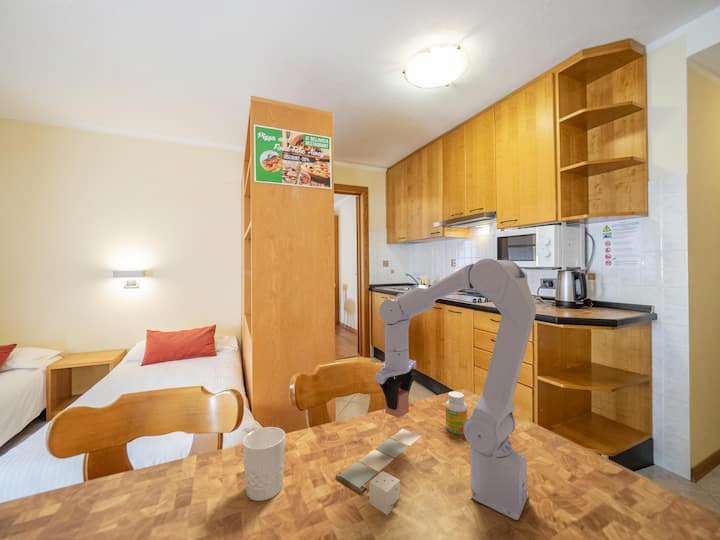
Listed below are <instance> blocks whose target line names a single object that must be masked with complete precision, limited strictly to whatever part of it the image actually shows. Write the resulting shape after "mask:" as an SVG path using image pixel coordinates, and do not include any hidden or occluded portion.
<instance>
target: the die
mask: <svg viewBox="0 0 720 540" xmlns="http://www.w3.org/2000/svg"><path fill="white" fill-rule="evenodd" d="M368 485H369V490H368V491H369V504H370V505H371V506H373V508H374V507H375V508H376V509H377V510H379V512H382V513H384V514H385V515H386V516H388V515H389V514H390V513H391V512H392V511H393V510H394V509H395V508H396V507H397V506H396V505H394V504H396V502H397V501H398V500H399V499H400V498H401V479H399V478H397V477H395V476H393V475H392V474H390V473H387V472H385V471H384V470H381V471H379V472H378V473H377V474H376V475H375V476H373V477H372V478H371V479H370V480H369V484H368Z"/></svg>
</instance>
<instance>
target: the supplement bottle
mask: <svg viewBox="0 0 720 540" xmlns="http://www.w3.org/2000/svg"><path fill="white" fill-rule="evenodd" d="M447 395H448V400H447V401H446V403H445V428H446V430H447V431H448V432H450V433H452V434H456V435H464V424H465V422H466V420H467V419H468V405H467V403H466V402H465V394H463V393H462V392H459V391H449V392H448V394H447Z"/></svg>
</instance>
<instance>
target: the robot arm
mask: <svg viewBox="0 0 720 540" xmlns="http://www.w3.org/2000/svg"><path fill="white" fill-rule="evenodd" d="M464 289H467V290H475V291H477V292H478V293H479V294H481V295H482V296H483V297H485V299H487V300H489V301H490V302H491V303H492V304H493V305H494V306H495V308H496V309H497V311H499V313H500V314H501V317H500V321H499V325H498V328H497V332H496V336H495V341H494V344H493V349H492V353H491V358H490V360H489V365H488V369H487V373H486V377H485V382H484V385H483V389H482V392H481V396H480V397H479V399H478V401H477V402H476V404H475V406H474V407H473V410H472V415H470V417H469V418H467V420H466V422H465V424H464V434H463V435H464V437H465V439H466V441H467V444H469V450H470V451H469V452H470V453H469V455H470V457H469V458H470V465H469V466H470V488H471V490H472V492H473V494H472V496H471V499H472V500H473V501H476V502H478V503H480V504H482V505H484V506H486V507H488V508H489V509H490V508H491V509H492V510H495V511H496V512H498V513H501V514H503V515H504V516H506V517H509V518H511V519H512V520H515V521H519V519H520V516H521V514H522V512H523V510H524V507H525V504H526V502H527V500H528V497H529V492H528V462H527V458H526V456H525V455H522V454H520V453H519V452H517V451H516V450H514V449H513V447H512V442H511V440H510V435H512V434H513V433H514V431H515V430H516V429H515V428H516V419H515V413H514V412H515V407H516V404H515V402H514V396H515V393H516V389H517V386H518V385H517V384H518V381H519V378H520V374H521V370H522V367H523V363H524V359H525V356H526V351H527V348H528V345H529V341H530V338H531V334H532V331H533V330H532V329H533V326H534V322H535V319H536V316H537V315H536V314H537V306H536V303H535V299H534V298H533V294H532V292H531V289H530V287H529V283H528V275H527V274H526V272H524V271H523V269H522V268H521V267H520V266H519V265H518V264H517V263H516V262H514V261H512V260H510V259H494V258H483V259H479V260H478V261H477V262H475V263H469V264H467V265H465V266H463V267H461V268H460V269H458V270H456V271H455V272H453V273H450V274H449V275H447V276H446V277H443V278H442V279H441V280H438V281H437V282H435V283H433V284H431V285H430V286H426V285H423V284H420V285H419V284H414V285H412V286H411V287H410V289H409V290H408V291H406V292H405V293H398V294H396V297H395V298H394V299H392V298H386V299H384V301H383V302H381V304H380V306H379V310H378V312H379V317H380V318H381V321H382V322H383V323H384V363H382V364H381V369H380V370H379V371H377V373H375V374H374V383H376V384H379V386H380V387H381V390H382V392H383V395H384V398H385V399H386V402H387V406H388V408H390V409H393V410H396V408H397V400H398V392H399V388H400V389H402V390H406V391H408V397H409V396H410V393H411V392H410V391H411V388H412V385H413V382H414V380H415V378H416V375H417V373H416V372H414V371H411V370H416V369H417V360H412V359H410V353H409V352H410V351H409V347H410V346H409V327H410V321H411V319H412V318H413V317H416V316H418V315H420V314H422V313H425V312H427V311H429V310H432V309H433V308H434V306H435V304H436V301H437V300H440V299H442V298H445V297H447V296H449V295H451V294H454V293H456V292H459V291H462V290H464ZM385 399H384V400H385Z"/></svg>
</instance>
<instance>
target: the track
mask: <svg viewBox="0 0 720 540" xmlns="http://www.w3.org/2000/svg"><path fill="white" fill-rule="evenodd" d="M420 438H422V435H419V434H417V433H415V432H412V431H410V430H407V429H405V428H402V429H400V430H398V432H396V433H394V434H393V435H392V436H390V438H387V439H386V440H385V441H383V442H382V443H381V444H380V445H378V446H377V447H376V448H375V447H374V448H375V449H372V450H371V451H370V452H369V453H367V454H365V455H364V456H363V457H361V458H360V459H359V460H358V461H356V462H355V463H354V464H352V465H351V466H350V467H348V468H346V469H345V470H344V471H341V472H338V473H337V474H335V479H336V480H337V481H340V482H341V483H342V484H344V485H346V486H347V487H349V488H351V489H352V490H354V491H355V492H356V493H358V494H360V495H363V494H364V493H365V492H366V491H368V488H366V487H364V485H365V484H366V483H368V481H369V482H370V481H371V480H372V479H373V478H374V477H376V476H377V475H378V473H380V472H382V471H383V469H385V467H387V466H388V465H389V464H390V463H392V462H393V461H394V460H395V459H397V457H399V456H400V455H401V454H402V453H403V452H404V451H406V450H407V449H408V448H409V447H411V446H412V445H413V444H414V443H416V441H418V440H419V439H420Z"/></svg>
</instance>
